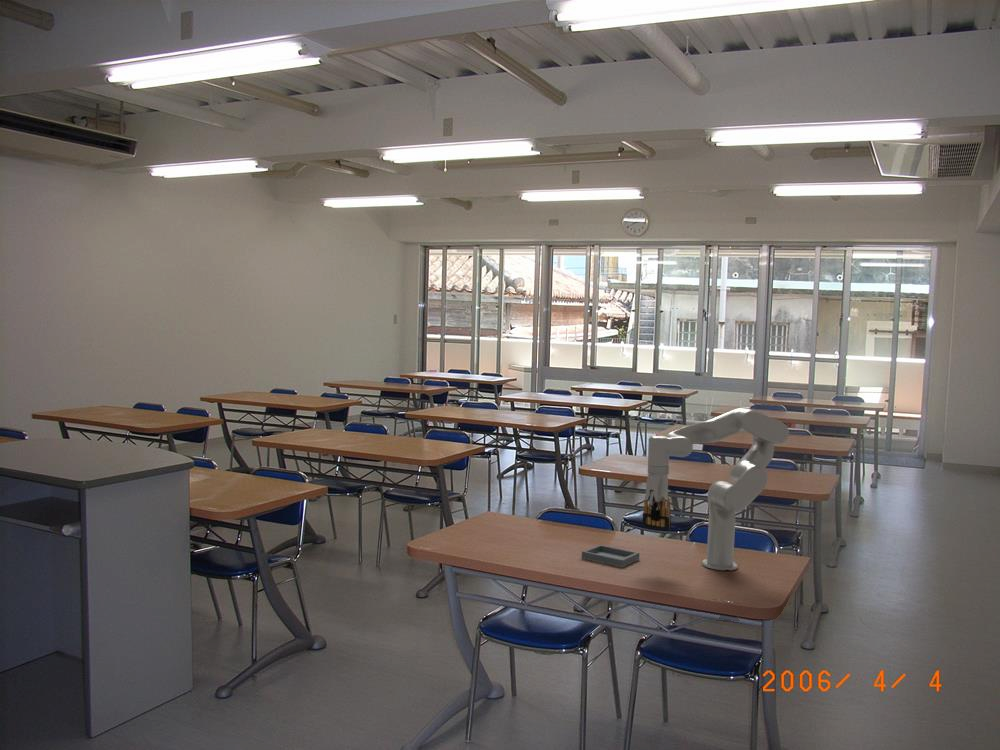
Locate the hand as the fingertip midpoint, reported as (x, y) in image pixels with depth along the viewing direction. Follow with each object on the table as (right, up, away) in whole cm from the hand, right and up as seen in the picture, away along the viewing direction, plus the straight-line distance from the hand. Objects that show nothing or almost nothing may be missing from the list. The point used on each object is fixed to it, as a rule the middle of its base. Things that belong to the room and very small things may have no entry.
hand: (656, 519), depth 286 cm
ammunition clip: (0, -3, 0) cm, 4 cm away
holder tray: (-16, -17, +10) cm, 25 cm away
